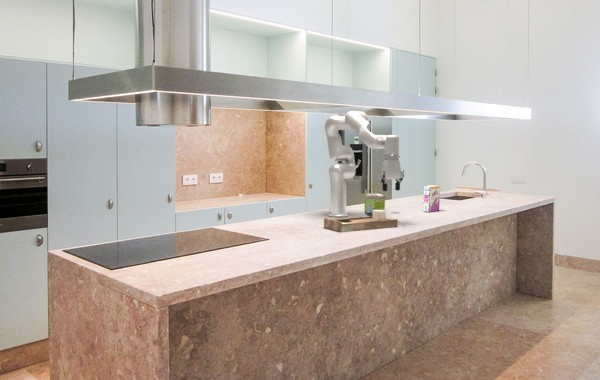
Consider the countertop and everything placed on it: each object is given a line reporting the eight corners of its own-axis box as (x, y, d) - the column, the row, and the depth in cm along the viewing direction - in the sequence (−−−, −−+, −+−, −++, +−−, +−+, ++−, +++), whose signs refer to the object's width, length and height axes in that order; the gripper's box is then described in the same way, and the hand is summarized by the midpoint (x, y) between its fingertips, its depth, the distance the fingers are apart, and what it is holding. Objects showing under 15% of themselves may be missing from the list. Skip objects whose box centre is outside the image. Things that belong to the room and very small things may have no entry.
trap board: (323, 227, 267) (323, 218, 267) (379, 222, 283) (379, 213, 283) (340, 232, 253) (340, 222, 253) (397, 226, 269) (397, 217, 268)
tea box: (385, 222, 285) (385, 195, 284) (366, 222, 285) (367, 195, 284) (381, 218, 300) (381, 193, 299) (364, 218, 300) (364, 193, 299)
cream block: (372, 218, 278) (372, 210, 278) (380, 217, 281) (380, 209, 280) (377, 219, 274) (377, 211, 274) (385, 219, 276) (385, 210, 276)
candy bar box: (429, 212, 324) (429, 186, 322) (422, 211, 328) (423, 186, 326) (439, 211, 331) (440, 185, 330) (433, 210, 335) (433, 185, 333)
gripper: (400, 157, 285) (399, 189, 287) (374, 158, 277) (374, 190, 279) (408, 158, 279) (408, 190, 280) (382, 158, 271) (382, 191, 272)
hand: (391, 190), depth 280 cm, fingers open, 7 cm apart
